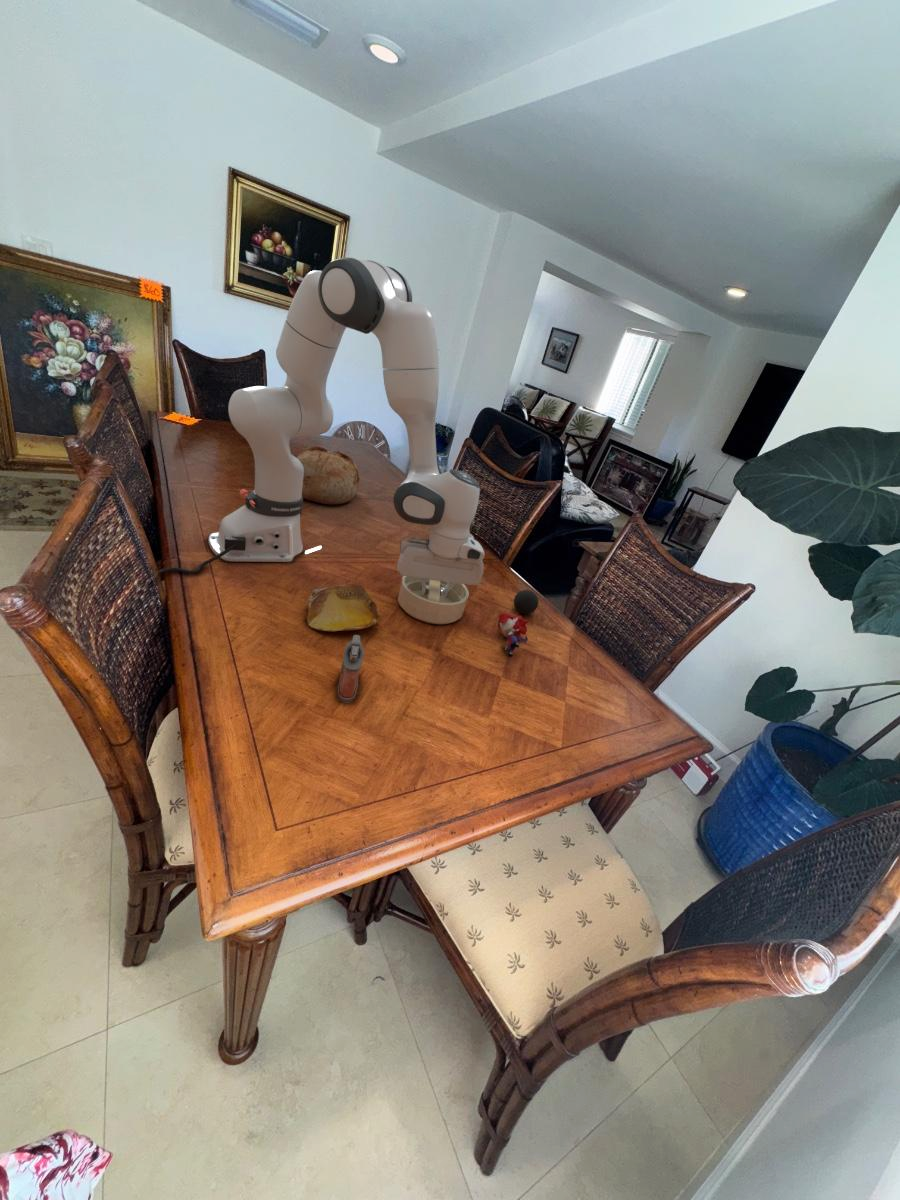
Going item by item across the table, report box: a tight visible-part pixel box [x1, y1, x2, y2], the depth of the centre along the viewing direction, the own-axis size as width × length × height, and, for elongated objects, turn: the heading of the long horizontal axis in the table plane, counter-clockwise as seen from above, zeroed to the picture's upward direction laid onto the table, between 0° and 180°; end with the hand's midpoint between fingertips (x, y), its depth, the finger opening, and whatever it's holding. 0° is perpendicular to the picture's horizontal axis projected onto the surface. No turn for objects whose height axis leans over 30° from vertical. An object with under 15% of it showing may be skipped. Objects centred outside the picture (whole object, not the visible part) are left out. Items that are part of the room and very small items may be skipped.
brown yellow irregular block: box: [306, 583, 380, 632], centre depth 104 cm, size 17×8×15 cm
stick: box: [427, 579, 440, 603], centre depth 117 cm, size 12×3×3 cm, turn 0°
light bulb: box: [513, 589, 539, 615], centre depth 128 cm, size 6×6×10 cm
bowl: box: [397, 576, 470, 625], centre depth 117 cm, size 16×16×6 cm
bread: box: [296, 445, 361, 506], centre depth 164 cm, size 26×23×15 cm
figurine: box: [497, 612, 530, 658], centre depth 112 cm, size 6×8×15 cm
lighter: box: [337, 634, 365, 704], centre depth 84 cm, size 8×3×10 cm, turn 5°
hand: (433, 594), depth 117 cm, fingers closed on stick, 3 cm apart
